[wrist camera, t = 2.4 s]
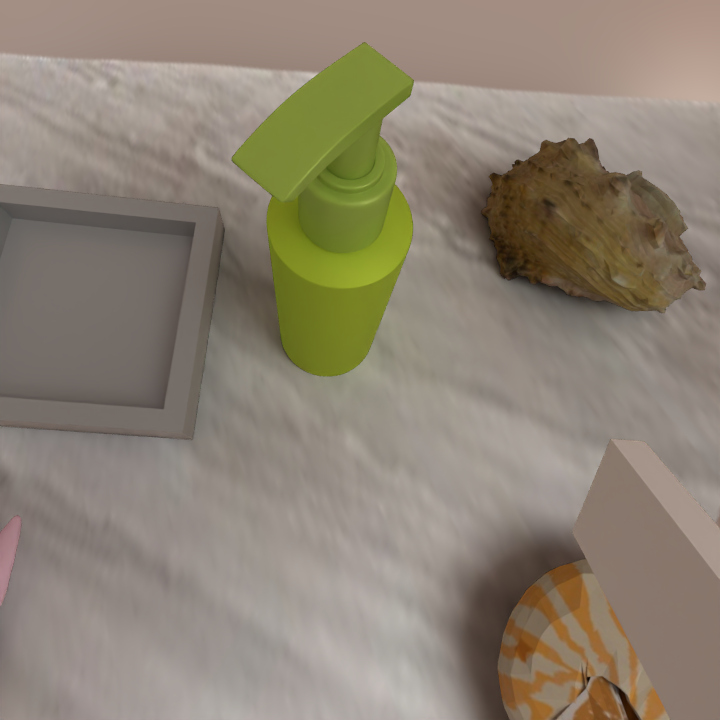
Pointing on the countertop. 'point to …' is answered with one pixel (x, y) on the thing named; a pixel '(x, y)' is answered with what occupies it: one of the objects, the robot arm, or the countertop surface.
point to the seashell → (589, 229)
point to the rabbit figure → (8, 552)
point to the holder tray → (104, 311)
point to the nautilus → (571, 655)
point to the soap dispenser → (333, 209)
